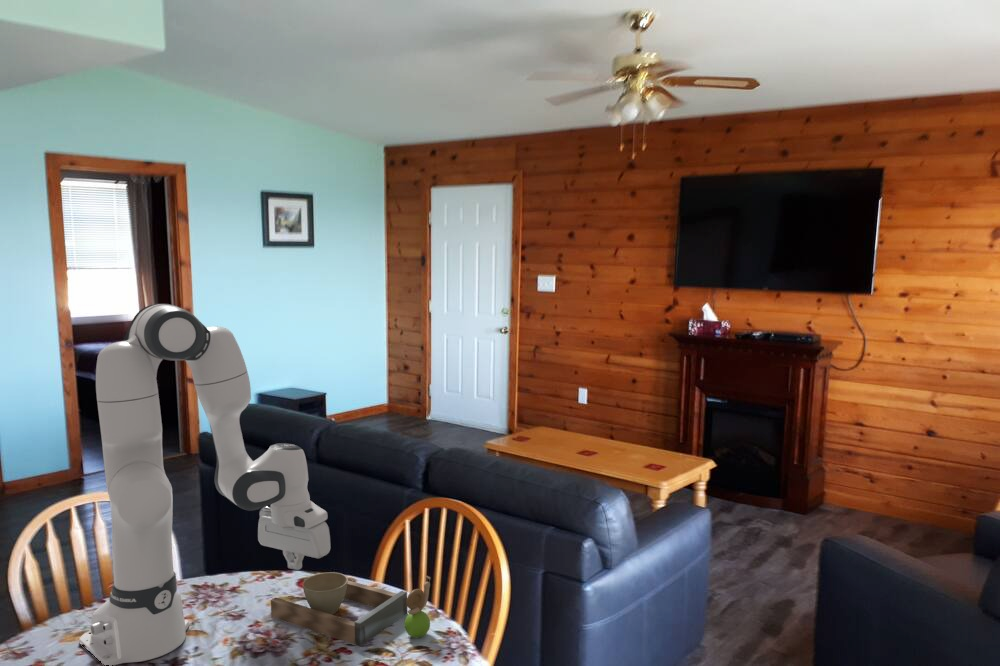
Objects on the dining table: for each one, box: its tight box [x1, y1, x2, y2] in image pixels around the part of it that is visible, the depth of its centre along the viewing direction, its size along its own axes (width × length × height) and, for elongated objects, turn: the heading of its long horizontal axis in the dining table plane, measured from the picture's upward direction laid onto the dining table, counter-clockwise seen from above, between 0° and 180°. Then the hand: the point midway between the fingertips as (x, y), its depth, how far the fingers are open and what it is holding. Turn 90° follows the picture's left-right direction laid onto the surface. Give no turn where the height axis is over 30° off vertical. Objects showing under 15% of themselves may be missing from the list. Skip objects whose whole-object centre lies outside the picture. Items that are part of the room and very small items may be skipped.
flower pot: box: [302, 571, 349, 615], centre depth 161 cm, size 10×10×7 cm
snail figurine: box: [404, 575, 431, 639], centre depth 150 cm, size 5×6×12 cm
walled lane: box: [270, 579, 408, 647], centre depth 159 cm, size 26×16×5 cm, turn 61°
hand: (295, 568), depth 166 cm, fingers closed
